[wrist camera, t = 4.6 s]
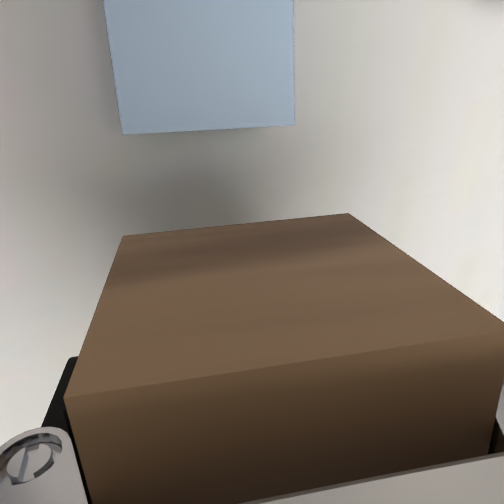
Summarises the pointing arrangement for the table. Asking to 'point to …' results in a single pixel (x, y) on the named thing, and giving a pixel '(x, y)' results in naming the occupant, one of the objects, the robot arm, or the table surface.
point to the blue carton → (201, 64)
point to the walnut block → (276, 365)
